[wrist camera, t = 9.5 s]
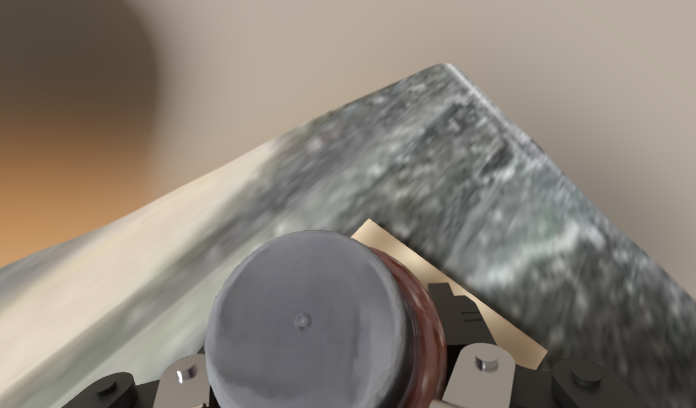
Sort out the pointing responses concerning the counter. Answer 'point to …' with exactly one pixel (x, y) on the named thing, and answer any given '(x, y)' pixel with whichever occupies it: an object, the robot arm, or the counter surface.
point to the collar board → (501, 329)
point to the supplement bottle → (324, 329)
